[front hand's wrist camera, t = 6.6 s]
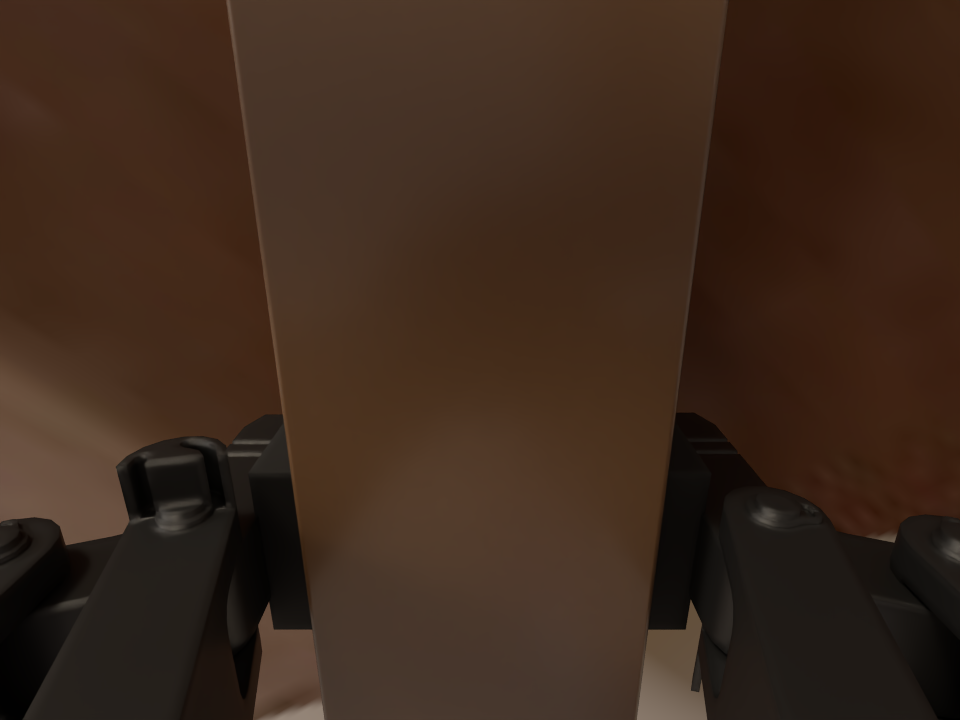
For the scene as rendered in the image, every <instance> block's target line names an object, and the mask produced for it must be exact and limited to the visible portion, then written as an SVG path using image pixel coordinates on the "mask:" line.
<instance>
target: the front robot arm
mask: <svg viewBox="0 0 960 720" xmlns="http://www.w3.org/2000/svg"><path fill="white" fill-rule="evenodd" d="M116 469H117V473H118V477H119V481H120V485H121V488H122V492H123V496H124V500H125V504H126V508H127V512H128V515H129V519H130V522H129V523H128V525H127V527H126V529H125V531H124V533H123V534H120V535H116V536H112V537H107V538H102V539H97V540H92V541H86V542H81V543H76V544H71V545H65V542H64V539H63V536H62V532H61V529H60V526H58V525H57V524H56V523H55V522H53V521H52V520H49V519H42V518H35V517H34V518H25V519H12V520H7V521H2V522H1V523H0V720H253V714H254V707H255V699H256V692H257V685H258V678H259V671H260V663H261V656H262V647H261V639H260V634H259V628H258V624H259V622H260V620H261V618H262V615H263V613H264V611H265V609H266V607H267V605H268V602H269V603H270V609H271V615H272V621H273V627H274V629H312V624H311V616H310V609H309V602H308V594H307V587H306V580H305V573H304V565H303V558H302V551H301V543H300V536H299V529H298V522H297V514H296V507H295V500H294V492H293V485H292V478H291V470H290V463H289V456H288V449H287V441H286V434H285V427H284V419H283V415H264V416H262V417H261V418H259V419H257V420H255V421H254V422H252V423H250V424H249V425H247V426H245V427H244V428H243V429H242V431H241V432H240V433H239V434H238V435H237V437H236V438H235V439H234V440H233V443H232V444H230V445H229V446H228V447H227V448H226V445H225V444H223V443H222V442H220V441H219V440H218V439H213V438H209V437H204V436H196V437H180V438H175V439H169V440H164V441H161V442H158V443H155V444H152V445H149V446H146V447H143V448H141V449H139V450H138V451H136V452H134V453H132V454H130V455H128V456H127V457H126V458H124V459H123V460H122V461H121V462H120V463H119V464H118V465H117V466H116ZM690 600H692V603H693V605H694V607H695V609H696V611H697V613H698V616H699V618H700V620H701V622H702V628H701V634H700V639H699V645H698V651H697V656H696V662H695V667H694V673H693V679H692V687H691V691H696V692H699V690H700V684H701V679H702V684H703V691H704V698H705V705H706V712H707V720H960V520H959V519H958V518H953V517H948V516H934V515H919V516H912V517H908V518H907V519H906V520H905V521H903V522H902V523H901V524H900V527H899V530H898V533H897V537H896V540H895V543H893V542H887V541H882V540H877V539H872V538H866V537H861V536H856V535H851V534H846V533H842V532H838V531H836V530H835V528H834V526H833V524H832V522H831V521H830V519H829V518H828V517H827V516H826V515H825V514H824V512H823V511H822V510H821V509H820V508H819V507H817V506H815V505H814V504H812V503H811V502H809V501H808V500H806V499H805V498H802V497H800V496H797V495H795V494H792V493H790V492H787V491H784V490H780V489H775V488H770V487H767V486H766V485H765V483H764V482H763V481H762V480H761V479H760V478H759V476H758V475H757V474H756V473H755V472H754V470H753V469H752V468H751V467H750V466H749V464H748V463H747V462H746V461H745V460H744V459H743V457H742V456H741V455H740V454H737V450H736V449H735V448H734V447H733V445H732V444H731V443H730V442H727V438H726V437H725V436H724V435H723V434H722V432H721V431H720V430H719V429H718V428H717V427H716V425H714V424H713V423H711V422H709V421H708V420H706V419H704V418H702V417H701V416H699V415H697V414H696V413H676V416H675V424H674V431H673V439H672V447H671V455H670V463H669V470H668V478H667V486H666V494H665V502H664V509H663V517H662V525H661V533H660V541H659V548H658V556H657V564H656V572H655V580H654V587H653V595H652V603H651V611H650V619H649V626H648V630H649V629H650V630H652V629H653V630H658V629H661V630H667V629H668V630H669V629H670V630H672V629H673V630H675V629H676V630H677V629H678V630H679V629H680V630H681V629H682V630H683V629H686V624H687V618H688V612H689V606H690Z"/></svg>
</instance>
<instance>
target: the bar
mask: <svg viewBox="0 0 960 720" xmlns="http://www.w3.org/2000/svg"><path fill="white" fill-rule="evenodd" d="M728 2H729V0H226V4H227V11H228V18H229V26H230V33H231V40H232V48H233V55H234V62H235V69H236V77H237V84H238V91H239V99H240V106H241V113H242V121H243V128H244V135H245V142H246V150H247V157H248V164H249V172H250V179H251V186H252V193H253V201H254V208H255V215H256V223H257V230H258V237H259V244H260V252H261V259H262V266H263V274H264V281H265V288H266V296H267V303H268V310H269V317H270V325H271V332H272V339H273V347H274V354H275V361H276V368H277V376H278V383H279V390H280V398H281V405H282V412H283V419H284V427H285V434H286V441H287V449H288V456H289V463H290V470H291V478H292V485H293V492H294V500H295V507H296V514H297V522H298V529H299V536H300V543H301V551H302V558H303V565H304V573H305V580H306V587H307V594H308V602H309V609H310V616H311V624H312V631H313V638H314V645H315V653H316V660H317V667H318V675H319V682H320V689H321V697H322V704H323V711H324V718H325V720H637V712H638V704H639V697H640V689H641V681H642V673H643V665H644V658H645V650H646V642H647V634H648V626H649V619H650V611H651V603H652V595H653V587H654V580H655V572H656V564H657V556H658V548H659V541H660V533H661V525H662V517H663V509H664V502H665V494H666V486H667V478H668V470H669V463H670V455H671V447H672V439H673V431H674V424H675V416H676V408H677V400H678V392H679V385H680V377H681V369H682V361H683V353H684V345H685V338H686V330H687V322H688V314H689V306H690V299H691V291H692V283H693V275H694V267H695V260H696V252H697V244H698V236H699V228H700V221H701V213H702V205H703V197H704V189H705V182H706V174H707V166H708V158H709V150H710V143H711V135H712V127H713V119H714V111H715V104H716V96H717V88H718V80H719V72H720V65H721V57H722V49H723V41H724V33H725V26H726V18H727V10H728Z"/></svg>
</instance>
